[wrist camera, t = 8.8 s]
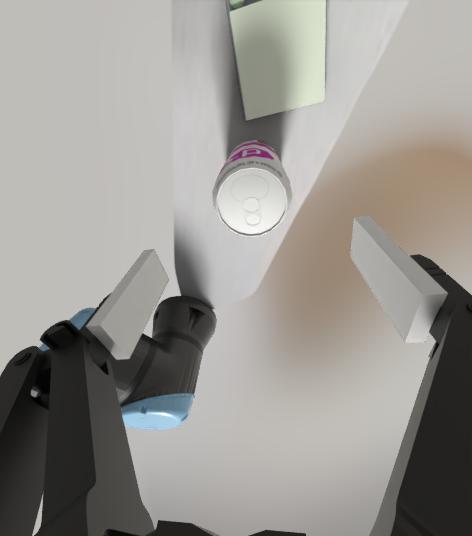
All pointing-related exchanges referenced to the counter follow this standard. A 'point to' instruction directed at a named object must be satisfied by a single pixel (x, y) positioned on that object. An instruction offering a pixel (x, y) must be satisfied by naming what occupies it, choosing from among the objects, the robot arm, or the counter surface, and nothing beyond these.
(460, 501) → the robot arm
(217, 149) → the counter surface
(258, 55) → the panel
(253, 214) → the supplement can
